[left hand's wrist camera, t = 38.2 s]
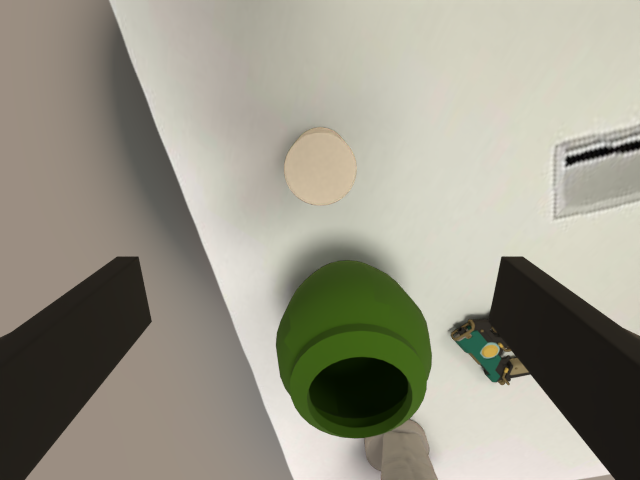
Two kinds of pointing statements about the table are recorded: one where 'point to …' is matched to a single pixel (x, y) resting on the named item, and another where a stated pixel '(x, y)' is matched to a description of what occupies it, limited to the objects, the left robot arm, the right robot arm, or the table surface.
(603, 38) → the table surface
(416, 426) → the bust sculpture
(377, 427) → the vase
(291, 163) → the canister
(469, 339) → the spray gun
